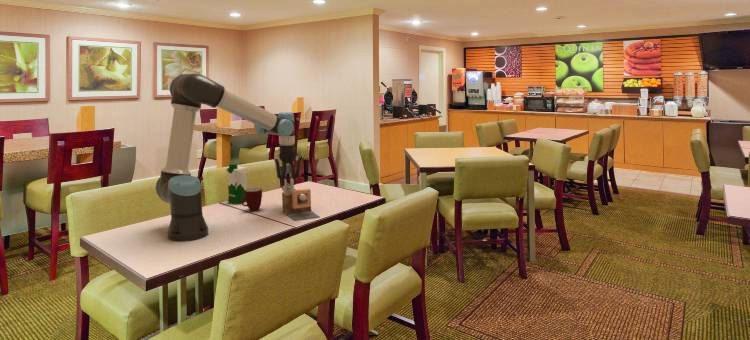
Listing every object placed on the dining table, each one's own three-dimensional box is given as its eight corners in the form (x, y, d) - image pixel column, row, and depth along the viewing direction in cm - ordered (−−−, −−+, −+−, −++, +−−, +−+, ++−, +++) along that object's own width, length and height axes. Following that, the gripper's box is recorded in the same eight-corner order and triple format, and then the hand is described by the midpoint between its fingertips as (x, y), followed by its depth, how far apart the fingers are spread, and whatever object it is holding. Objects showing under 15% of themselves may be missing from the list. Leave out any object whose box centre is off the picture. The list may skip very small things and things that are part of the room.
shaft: (309, 202, 214) (309, 192, 214) (299, 203, 212) (299, 193, 211) (290, 191, 237) (290, 182, 236) (282, 192, 235) (281, 183, 234)
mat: (294, 220, 209) (294, 220, 209) (286, 215, 219) (286, 214, 219) (319, 217, 215) (319, 216, 215) (311, 211, 224) (311, 210, 224)
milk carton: (225, 202, 242) (223, 164, 238) (239, 199, 249) (237, 161, 246) (237, 205, 237) (235, 165, 234) (251, 201, 245) (249, 163, 241)
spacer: (294, 208, 214) (293, 191, 213) (292, 207, 216) (291, 190, 215) (310, 206, 218) (310, 189, 217) (309, 205, 220) (308, 188, 219)
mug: (247, 214, 220) (246, 193, 219) (237, 211, 226) (236, 190, 224) (266, 209, 228) (265, 189, 226) (256, 206, 233) (255, 187, 232)
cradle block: (286, 215, 219) (286, 195, 217) (282, 212, 224) (282, 192, 222) (311, 211, 224) (310, 192, 223) (306, 208, 229) (306, 189, 228)
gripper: (272, 146, 222) (274, 195, 226) (305, 144, 229) (306, 191, 233) (268, 144, 228) (270, 192, 232) (300, 142, 236) (301, 188, 240)
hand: (288, 191), depth 233 cm, fingers closed on shaft, 3 cm apart
